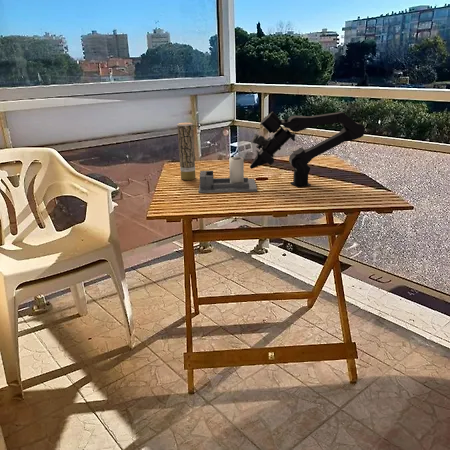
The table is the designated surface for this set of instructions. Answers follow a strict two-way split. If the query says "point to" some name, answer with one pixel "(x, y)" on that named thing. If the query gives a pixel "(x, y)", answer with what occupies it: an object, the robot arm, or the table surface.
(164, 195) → the table surface
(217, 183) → the jig
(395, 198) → the table surface
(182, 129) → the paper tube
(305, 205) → the table surface
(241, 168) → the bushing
